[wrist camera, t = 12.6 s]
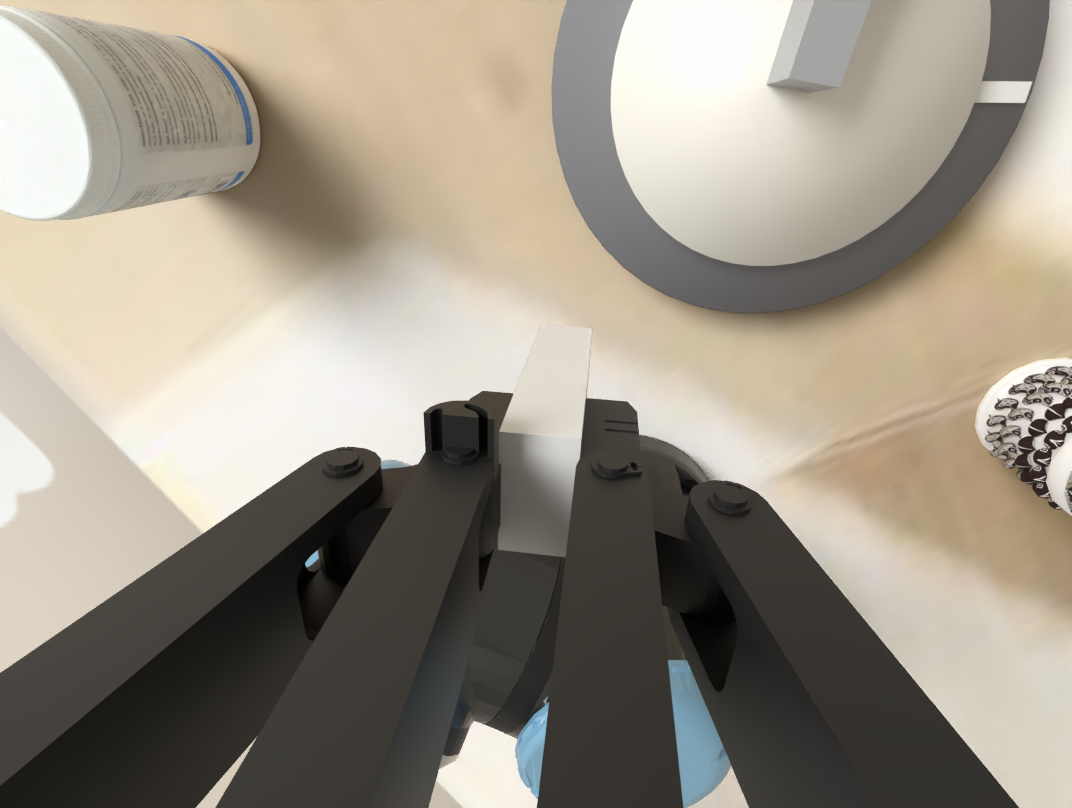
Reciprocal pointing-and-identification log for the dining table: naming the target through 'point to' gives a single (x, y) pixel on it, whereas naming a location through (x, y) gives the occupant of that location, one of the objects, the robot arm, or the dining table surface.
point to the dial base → (761, 289)
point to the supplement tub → (114, 117)
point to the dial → (790, 116)
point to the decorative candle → (1033, 427)
